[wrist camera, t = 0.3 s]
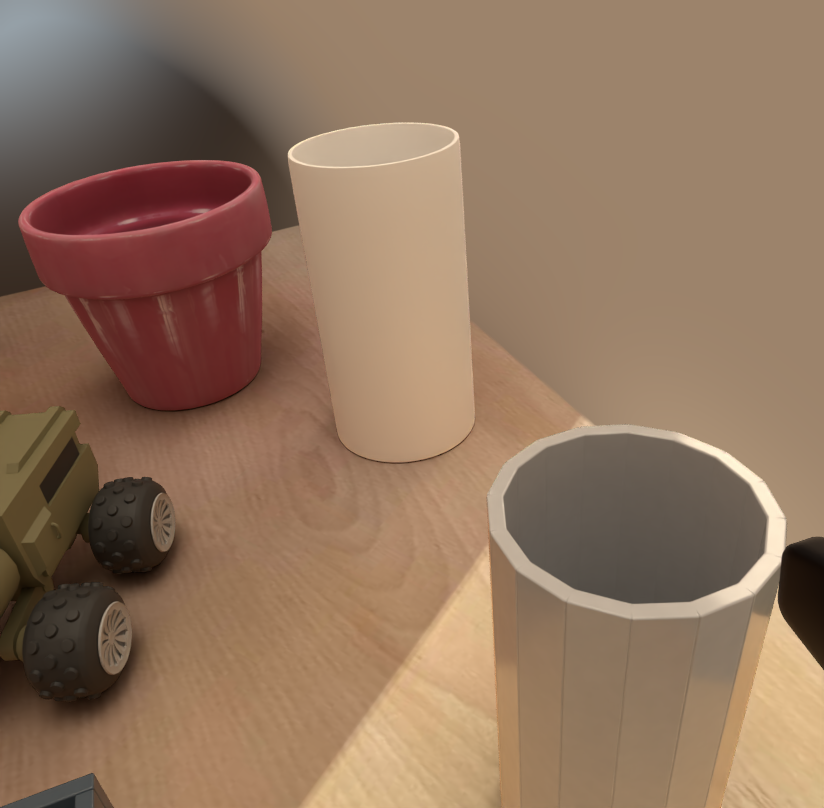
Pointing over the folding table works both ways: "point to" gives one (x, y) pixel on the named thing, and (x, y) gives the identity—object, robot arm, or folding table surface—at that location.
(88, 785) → the open box
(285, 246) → the folding table surface
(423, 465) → the folding table surface
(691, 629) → the tumbler
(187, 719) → the folding table surface
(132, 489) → the toy vehicle
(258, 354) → the flower pot
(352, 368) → the cup
